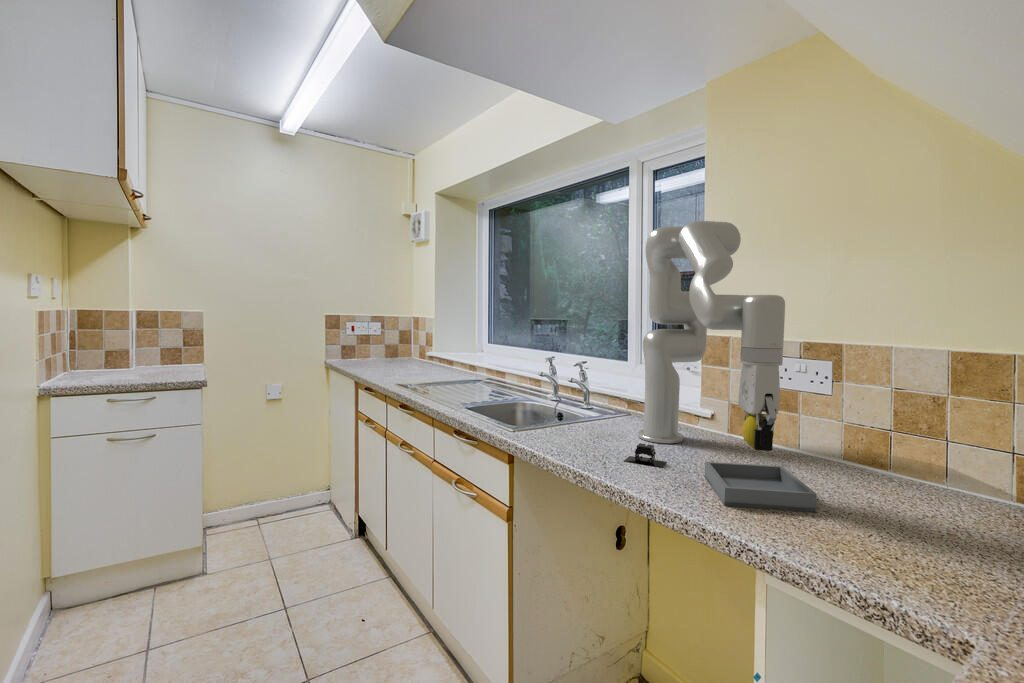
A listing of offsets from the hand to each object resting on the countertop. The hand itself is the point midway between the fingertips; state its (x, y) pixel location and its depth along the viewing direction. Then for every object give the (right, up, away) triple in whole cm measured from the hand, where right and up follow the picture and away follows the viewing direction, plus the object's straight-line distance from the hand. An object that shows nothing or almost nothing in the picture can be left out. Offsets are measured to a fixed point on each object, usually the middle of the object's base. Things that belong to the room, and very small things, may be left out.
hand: (757, 444), depth 97 cm
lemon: (0, -2, 0) cm, 1 cm away
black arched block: (-17, -9, +20) cm, 28 cm away
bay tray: (0, -10, +1) cm, 10 cm away
